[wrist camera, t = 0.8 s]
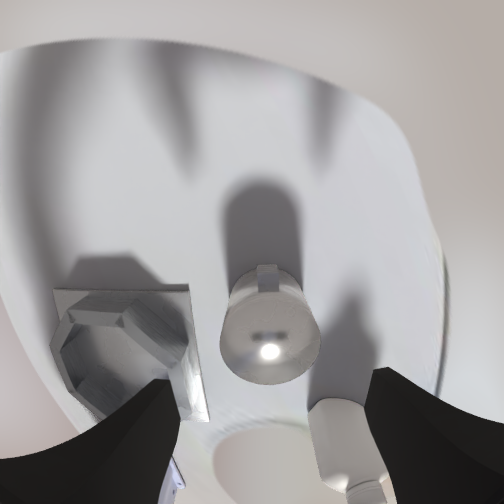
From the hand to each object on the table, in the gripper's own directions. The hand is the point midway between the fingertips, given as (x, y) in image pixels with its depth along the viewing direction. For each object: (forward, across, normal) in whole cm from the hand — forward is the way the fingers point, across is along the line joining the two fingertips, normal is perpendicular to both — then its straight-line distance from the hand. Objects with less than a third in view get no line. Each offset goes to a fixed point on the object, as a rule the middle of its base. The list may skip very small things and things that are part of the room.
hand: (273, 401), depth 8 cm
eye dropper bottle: (+10, -6, +11) cm, 16 cm away
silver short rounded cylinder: (+9, 0, 0) cm, 9 cm away
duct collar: (+9, +11, +5) cm, 15 cm away
